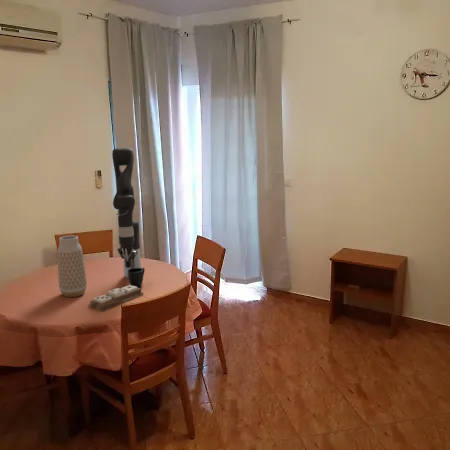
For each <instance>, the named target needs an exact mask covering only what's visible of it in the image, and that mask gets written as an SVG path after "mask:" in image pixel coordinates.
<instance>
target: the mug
mask: <svg viewBox="0 0 450 450" xmlns="http://www.w3.org/2000/svg"><path fill="white" fill-rule="evenodd" d="M145 271H146V270H145V267H142V266H141V268H132V269H129V270H128V278H127V279H128V281H129V285H132V286H136V287H138V288H140V289H141V288H142V285H143V282H144V281H143V280H144V276H145Z"/></svg>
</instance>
